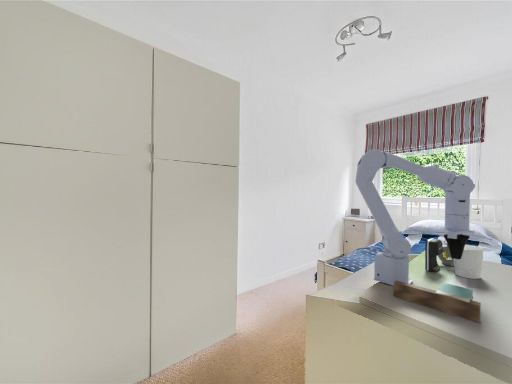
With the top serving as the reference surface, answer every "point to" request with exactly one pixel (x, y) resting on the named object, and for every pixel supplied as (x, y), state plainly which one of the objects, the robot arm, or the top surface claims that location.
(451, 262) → the pocket watch
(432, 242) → the battery charger
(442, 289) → the teal block
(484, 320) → the top surface
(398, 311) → the top surface
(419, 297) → the walnut board
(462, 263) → the white cup
